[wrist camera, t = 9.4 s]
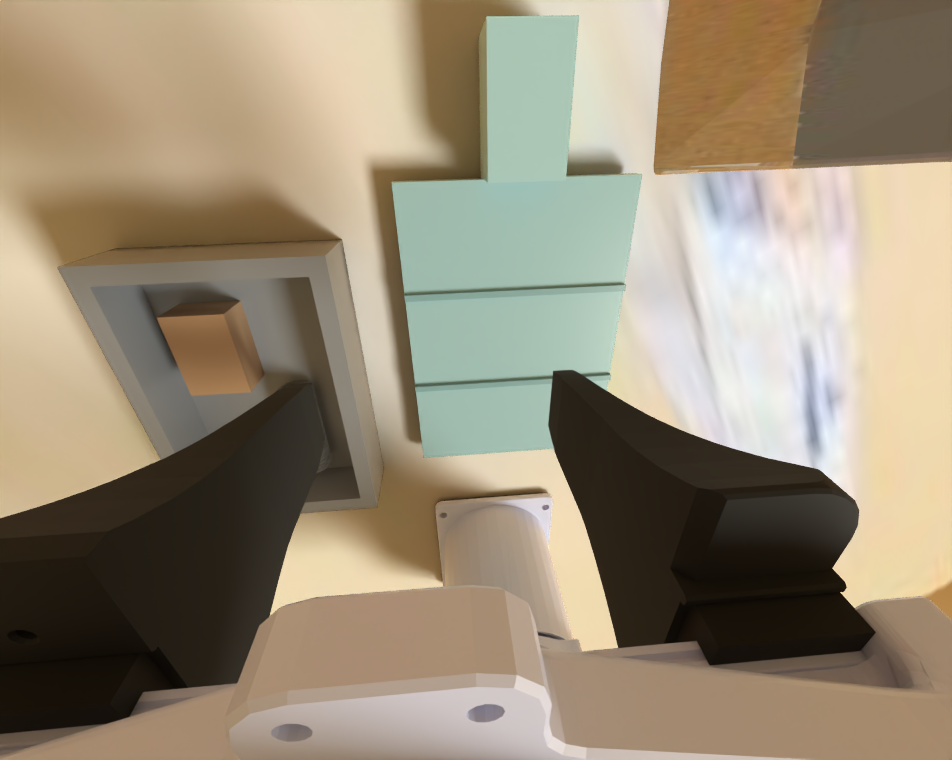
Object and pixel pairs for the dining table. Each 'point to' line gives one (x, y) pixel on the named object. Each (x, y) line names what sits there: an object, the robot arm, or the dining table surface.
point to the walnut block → (213, 347)
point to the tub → (274, 333)
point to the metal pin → (326, 454)
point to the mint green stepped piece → (512, 255)
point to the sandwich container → (804, 84)
